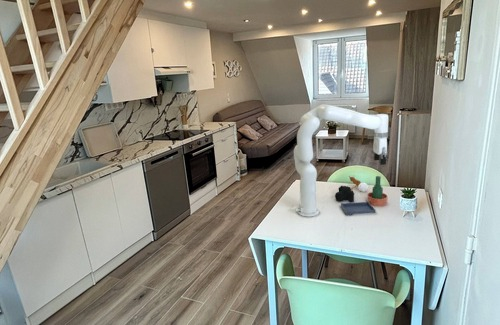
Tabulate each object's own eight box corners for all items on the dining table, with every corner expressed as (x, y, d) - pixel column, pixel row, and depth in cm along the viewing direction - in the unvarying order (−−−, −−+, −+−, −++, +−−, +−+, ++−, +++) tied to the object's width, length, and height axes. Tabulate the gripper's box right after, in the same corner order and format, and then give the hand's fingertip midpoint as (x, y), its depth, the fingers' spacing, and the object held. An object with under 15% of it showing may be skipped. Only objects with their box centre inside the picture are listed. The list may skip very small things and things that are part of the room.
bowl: (371, 208, 192) (371, 199, 190) (364, 200, 204) (364, 192, 202) (390, 206, 192) (391, 198, 190) (382, 199, 203) (382, 191, 202)
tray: (346, 215, 185) (346, 211, 184) (340, 206, 196) (340, 203, 196) (375, 213, 184) (375, 209, 184) (367, 205, 196) (368, 201, 195)
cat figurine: (367, 180, 211) (350, 169, 226) (354, 190, 210) (338, 179, 225) (372, 192, 218) (356, 180, 233) (360, 202, 217) (344, 190, 232)
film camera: (330, 197, 213) (330, 184, 210) (343, 194, 215) (343, 182, 212) (343, 205, 198) (343, 192, 196) (356, 202, 201) (356, 189, 198)
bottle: (374, 204, 195) (375, 178, 190) (370, 201, 200) (371, 175, 196) (383, 204, 195) (385, 177, 190) (379, 200, 200) (381, 174, 195)
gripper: (369, 132, 193) (368, 159, 198) (380, 138, 176) (379, 166, 181) (381, 131, 193) (380, 158, 197) (393, 137, 176) (392, 165, 181)
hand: (379, 162), depth 189 cm, fingers open, 9 cm apart
